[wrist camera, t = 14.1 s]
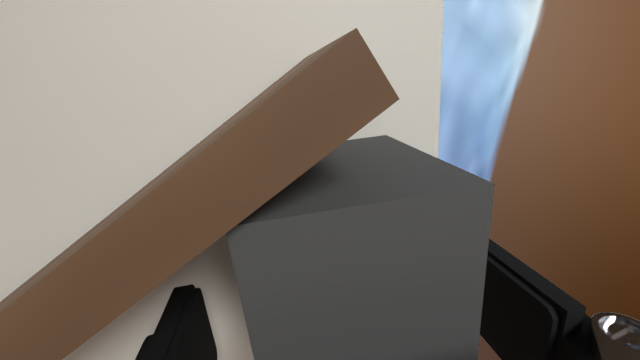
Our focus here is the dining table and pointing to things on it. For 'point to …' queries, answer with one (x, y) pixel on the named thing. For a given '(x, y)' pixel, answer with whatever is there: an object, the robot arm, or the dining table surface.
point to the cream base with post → (168, 119)
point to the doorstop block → (367, 259)
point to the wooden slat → (196, 200)
